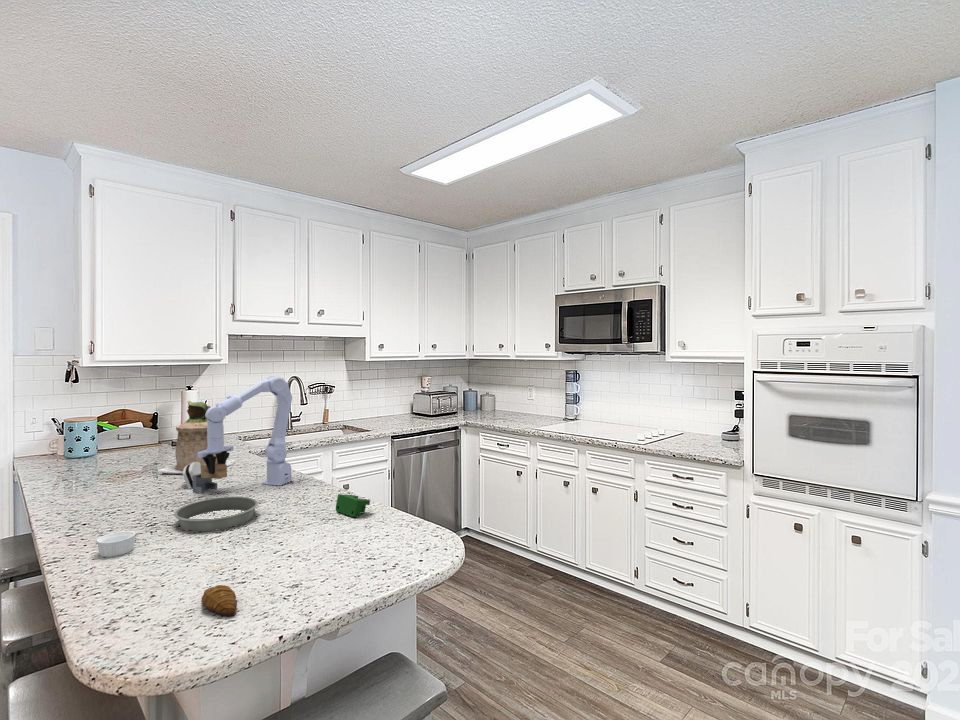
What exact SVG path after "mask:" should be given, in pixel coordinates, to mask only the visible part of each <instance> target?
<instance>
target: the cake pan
mask: <svg viewBox="0 0 960 720" xmlns="http://www.w3.org/2000/svg"><path fill="white" fill-rule="evenodd" d="M258 505H259V501H258V500H257V499H255V498H252V497H248V496H220V497H213V498H207V499H204V500H198V501H195V502H191V503H188V504H186V505H183V506H181V507H179V508H178V509H176V510H175V511H174V513H173V515H174V518H175V519H177V520H178V522H179V526H180V527H181V528H182V529H183V530H185V529H186V530H185V531H189V530H192V531H191V532H208V531H207V530H213V531H217V530H216V529H220V530H224V529H223V528H226V529H229V528H228V527H230V528H233V527H232V526H234V527H236V526H235V525H237V526H239V524H240V525H243V524H245V523H247V522H249V521H251V520H252V519H253V517H254V514H255V509H256V508H257V507H258ZM221 510H228V511H229V510H234V511H235V510H242V511H244V512H242V511H241V513H238V514H235V515H231V516H226V517H221V518H214V519H189V518H190V517H193V516H196V515H199V514H203V513H204V514H205V513H206V514H207V513H208V512H209V513H210V512H213V511H221ZM248 520H249V521H248ZM246 521H247V522H246ZM244 522H245V523H244ZM242 523H243V524H242Z"/></svg>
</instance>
